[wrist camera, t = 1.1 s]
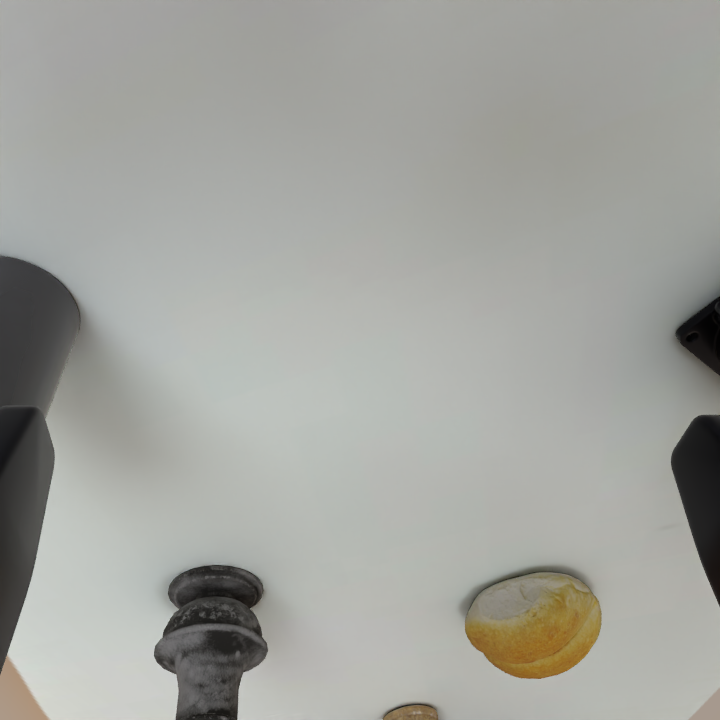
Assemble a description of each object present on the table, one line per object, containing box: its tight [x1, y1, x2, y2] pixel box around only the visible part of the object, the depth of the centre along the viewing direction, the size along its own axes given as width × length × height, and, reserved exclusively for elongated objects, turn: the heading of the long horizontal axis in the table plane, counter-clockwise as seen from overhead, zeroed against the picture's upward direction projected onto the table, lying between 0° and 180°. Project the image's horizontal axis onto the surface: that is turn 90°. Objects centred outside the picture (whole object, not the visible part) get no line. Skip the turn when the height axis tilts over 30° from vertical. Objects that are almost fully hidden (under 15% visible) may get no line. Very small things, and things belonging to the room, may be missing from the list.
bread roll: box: [465, 572, 601, 679], centre depth 40 cm, size 8×9×4 cm
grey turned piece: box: [154, 566, 268, 720], centre depth 32 cm, size 6×6×12 cm
